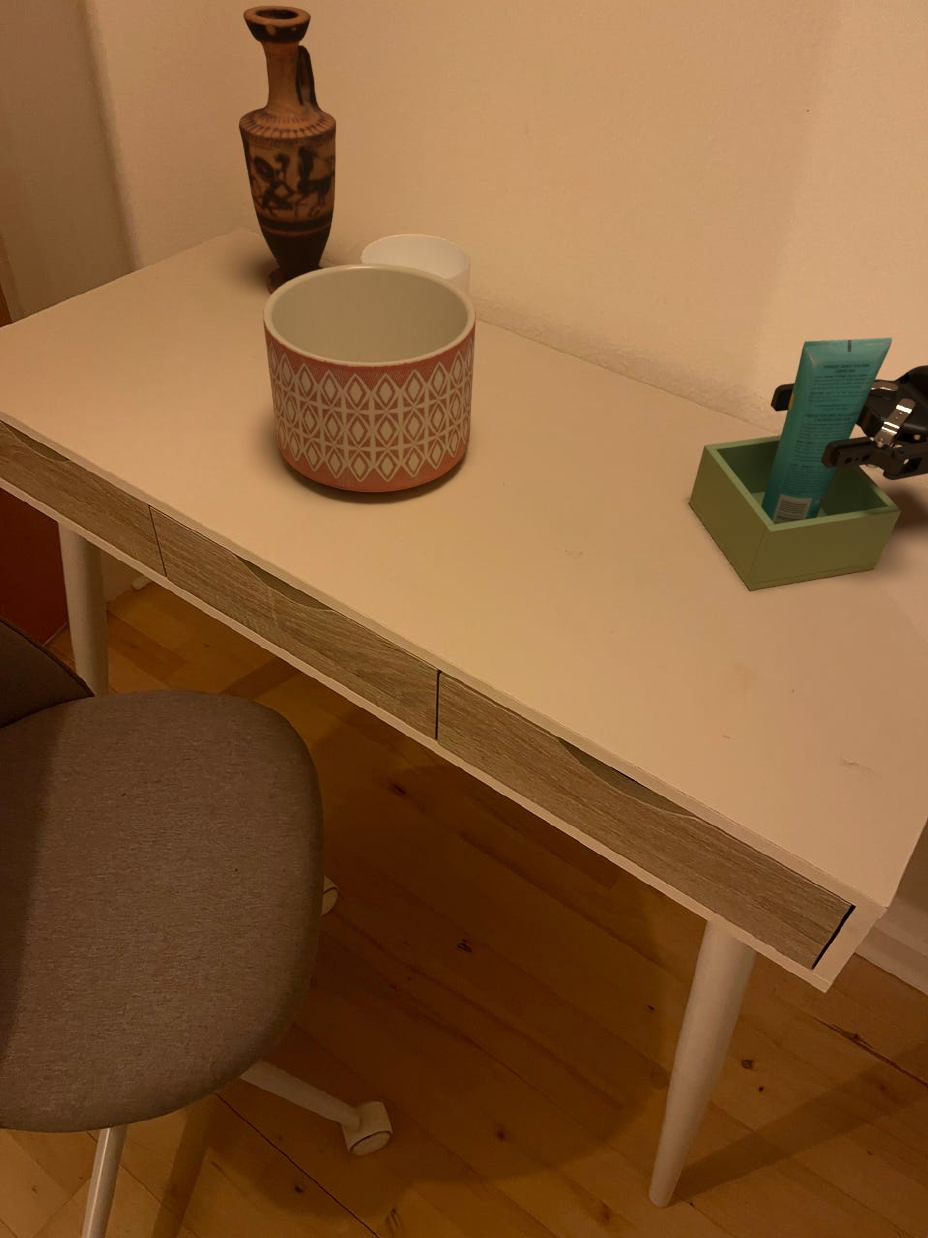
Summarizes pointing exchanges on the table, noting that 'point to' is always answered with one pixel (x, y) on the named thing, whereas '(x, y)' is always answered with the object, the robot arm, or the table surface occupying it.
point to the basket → (794, 549)
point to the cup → (422, 256)
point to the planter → (371, 375)
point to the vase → (289, 148)
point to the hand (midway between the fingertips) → (799, 426)
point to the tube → (819, 421)
